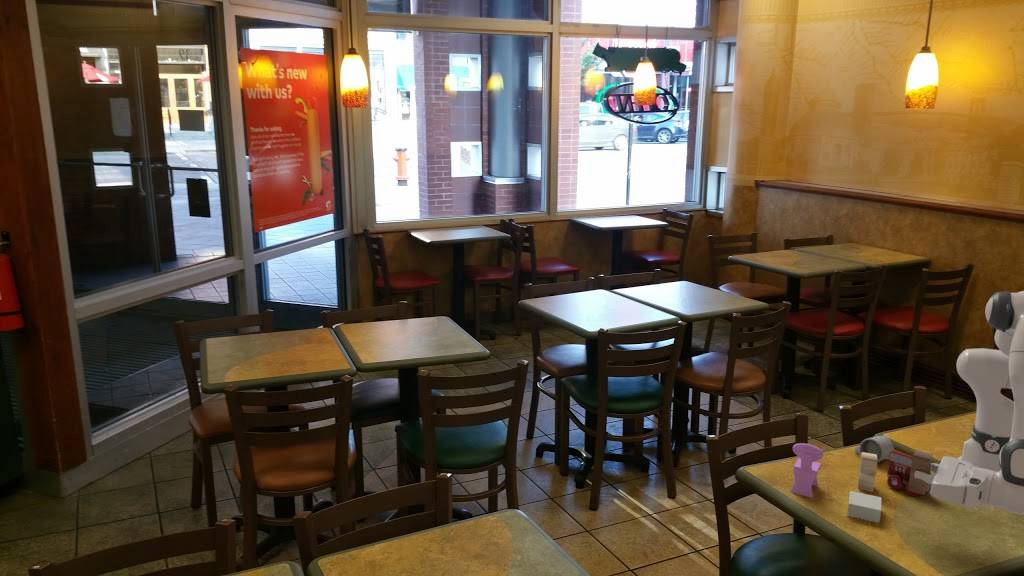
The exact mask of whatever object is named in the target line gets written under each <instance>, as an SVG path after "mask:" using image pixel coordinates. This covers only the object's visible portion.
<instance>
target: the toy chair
mask: <svg viewBox="0 0 1024 576" xmlns="http://www.w3.org/2000/svg"><path fill="white" fill-rule="evenodd" d="M792 452H793V453H794V455H796V456H797V457H798V458H797V460H796V462H795V463H794V465H793V470H792V472H793V476H794V484H793V486H792V488H791V490H790V491H789V492H790V493H793V494H797V495H800V496H805V497H809V498H813V499H814V493H813V487H812V486H814V487H819V483H818V478H817V477H818V476H817V475H818V472H819V471H820V469H821V467H822V466H821V465H822V463H821V462H816V461H819V460H821V459H822V458H823V457H824V451H823V450H822V449H821V448H819V447H817V446H816V445H813V444H809V443H803V442H801V443H795V444H794V445H793V446H792Z"/></svg>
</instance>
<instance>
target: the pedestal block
mask: <svg viewBox="0 0 1024 576" xmlns="http://www.w3.org/2000/svg"><path fill="white" fill-rule="evenodd" d="M881 515H882V497H881V496H876V495H872V494H866V493H862V492H857V491H853V490H850V491H849V495H848V504H847V514H846V516H847V517H850V518H854V517H856V518H855V519H859V518H861V519H860V520H863V519H865V520H864V521H868V520H869V521H868V522H872V521H874V522H873V523H877V522H878V523H877V524H879V523H880V521H881Z"/></svg>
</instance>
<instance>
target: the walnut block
mask: <svg viewBox="0 0 1024 576" xmlns="http://www.w3.org/2000/svg"><path fill="white" fill-rule="evenodd" d="M933 455H934V454H933V453H929V452H927V451H922V450H919V449H915V451H914V453H913V454H912V456H913V458H912V465H911V472H910V479H909V485H908V490H909V491H912V492H916V493H920V494H919V495H924V496H925V495H926V493H927V492H926V491H927V488H928V483H927V482H925V481H923V480H922V479H918V478H915V477H914V474H915V471H916V470H917V469H918V470H922V471H923V472H924V473H927V474H929V475H930V472H931V471H930V468H931V463H932V461H933Z"/></svg>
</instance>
